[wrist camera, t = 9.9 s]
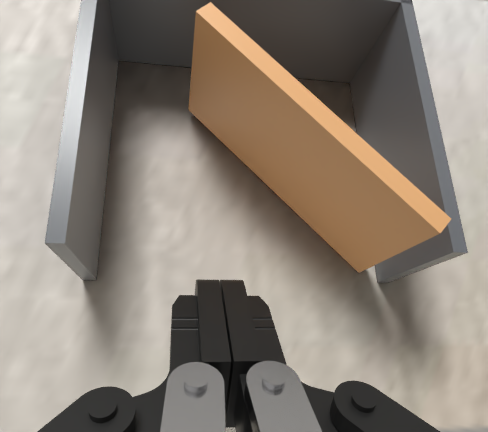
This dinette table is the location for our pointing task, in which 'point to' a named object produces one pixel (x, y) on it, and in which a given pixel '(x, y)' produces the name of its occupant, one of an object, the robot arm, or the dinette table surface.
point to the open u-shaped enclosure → (291, 59)
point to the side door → (304, 148)
